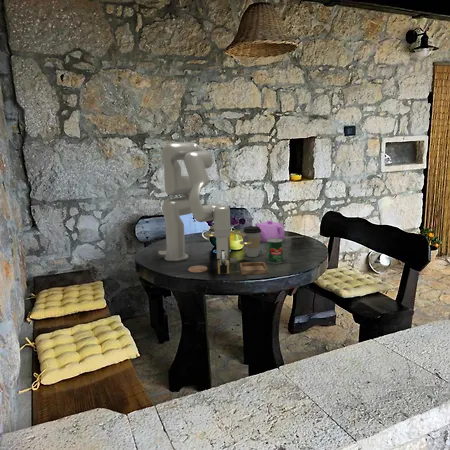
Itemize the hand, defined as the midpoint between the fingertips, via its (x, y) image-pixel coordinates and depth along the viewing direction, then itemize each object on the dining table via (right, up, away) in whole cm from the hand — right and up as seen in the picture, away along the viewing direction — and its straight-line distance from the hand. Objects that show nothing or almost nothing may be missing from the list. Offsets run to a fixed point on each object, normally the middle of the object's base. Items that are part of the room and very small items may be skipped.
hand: (223, 270), depth 187 cm
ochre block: (0, -1, 0) cm, 1 cm away
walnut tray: (+14, 0, +1) cm, 14 cm away
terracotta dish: (-12, 0, +5) cm, 13 cm away
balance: (+3, +3, +16) cm, 16 cm away
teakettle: (+27, +11, +58) cm, 65 cm away
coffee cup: (+15, +5, +26) cm, 31 cm away
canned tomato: (+26, +3, +15) cm, 30 cm away
